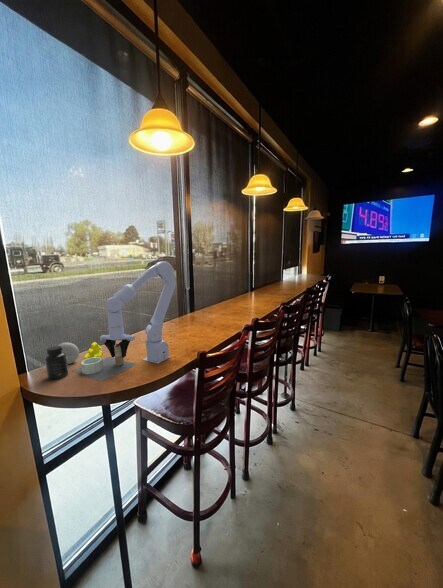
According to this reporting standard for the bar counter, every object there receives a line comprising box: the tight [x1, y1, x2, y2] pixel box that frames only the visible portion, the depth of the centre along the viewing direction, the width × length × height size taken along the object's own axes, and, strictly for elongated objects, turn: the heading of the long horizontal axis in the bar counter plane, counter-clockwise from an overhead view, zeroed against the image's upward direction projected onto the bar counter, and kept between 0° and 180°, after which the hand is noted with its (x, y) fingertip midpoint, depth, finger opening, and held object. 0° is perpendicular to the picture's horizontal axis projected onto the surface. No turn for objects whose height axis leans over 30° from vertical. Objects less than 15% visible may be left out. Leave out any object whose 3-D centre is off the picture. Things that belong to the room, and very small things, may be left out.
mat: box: [71, 356, 138, 382], centre depth 104 cm, size 19×17×1 cm
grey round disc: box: [57, 341, 80, 365], centre depth 109 cm, size 10×3×10 cm, turn 106°
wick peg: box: [114, 343, 125, 366], centre depth 106 cm, size 3×3×9 cm
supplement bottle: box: [44, 345, 69, 381], centre depth 97 cm, size 7×7×12 cm
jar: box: [80, 357, 103, 375], centre depth 101 cm, size 8×8×4 cm
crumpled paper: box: [84, 341, 104, 360], centre depth 115 cm, size 6×8×8 cm
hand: (119, 356), depth 106 cm, fingers closed on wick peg, 4 cm apart
